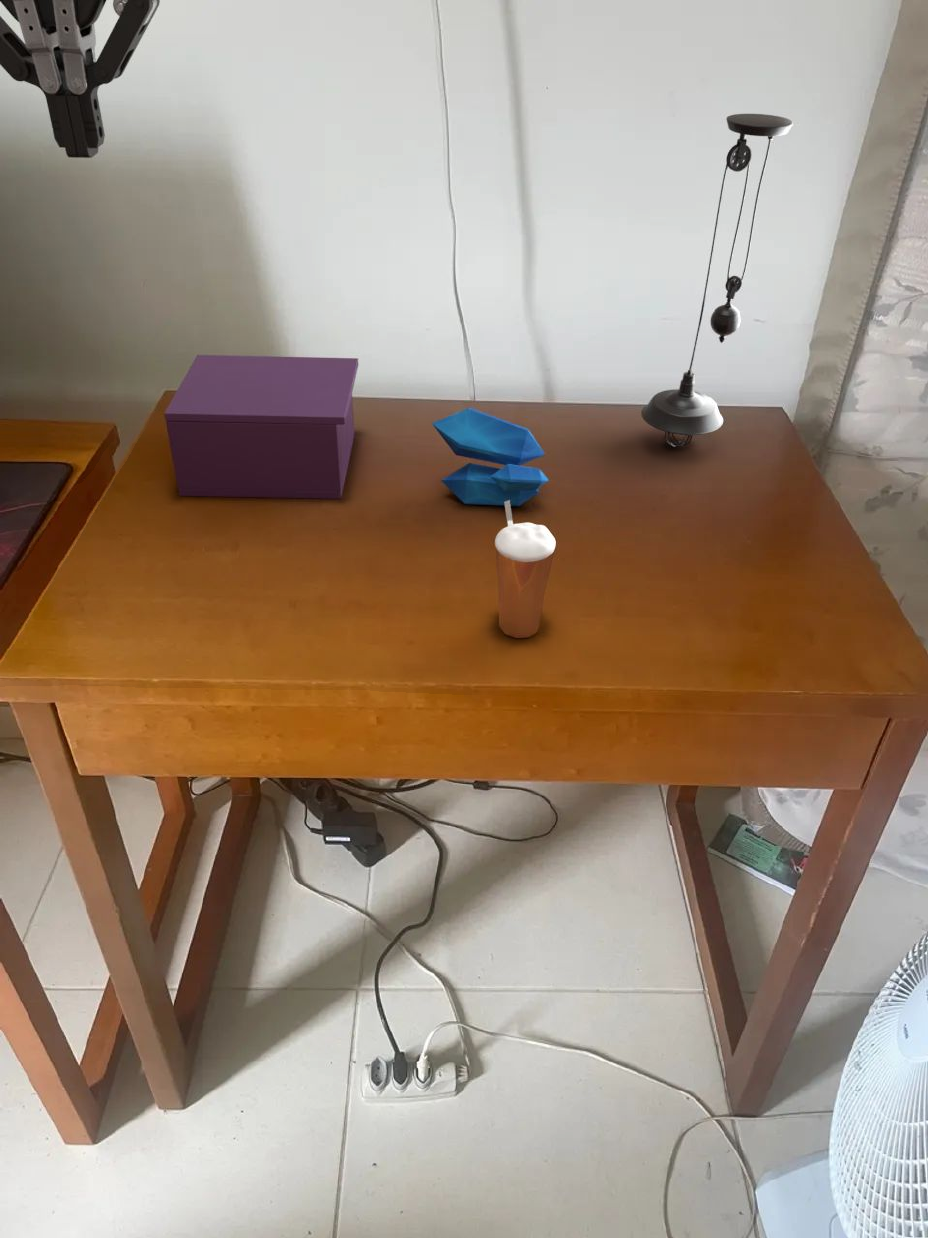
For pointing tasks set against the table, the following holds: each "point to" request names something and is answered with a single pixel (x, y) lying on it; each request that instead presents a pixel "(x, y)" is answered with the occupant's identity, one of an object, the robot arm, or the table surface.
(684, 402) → the light fixture
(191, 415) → the lid
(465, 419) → the gemstones
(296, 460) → the box
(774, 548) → the table surface
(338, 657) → the table surface
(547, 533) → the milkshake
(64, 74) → the robot arm
